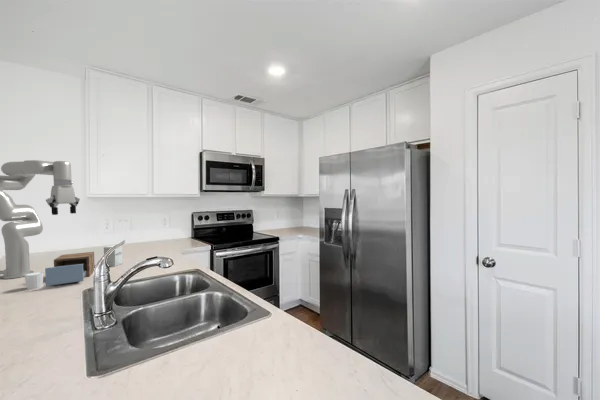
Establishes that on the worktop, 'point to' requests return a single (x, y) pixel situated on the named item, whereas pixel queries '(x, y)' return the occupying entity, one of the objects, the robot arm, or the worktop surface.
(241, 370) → the worktop surface
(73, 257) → the tan storage bin
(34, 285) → the shot glass
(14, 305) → the worktop surface
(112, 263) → the supplement box
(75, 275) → the tray
